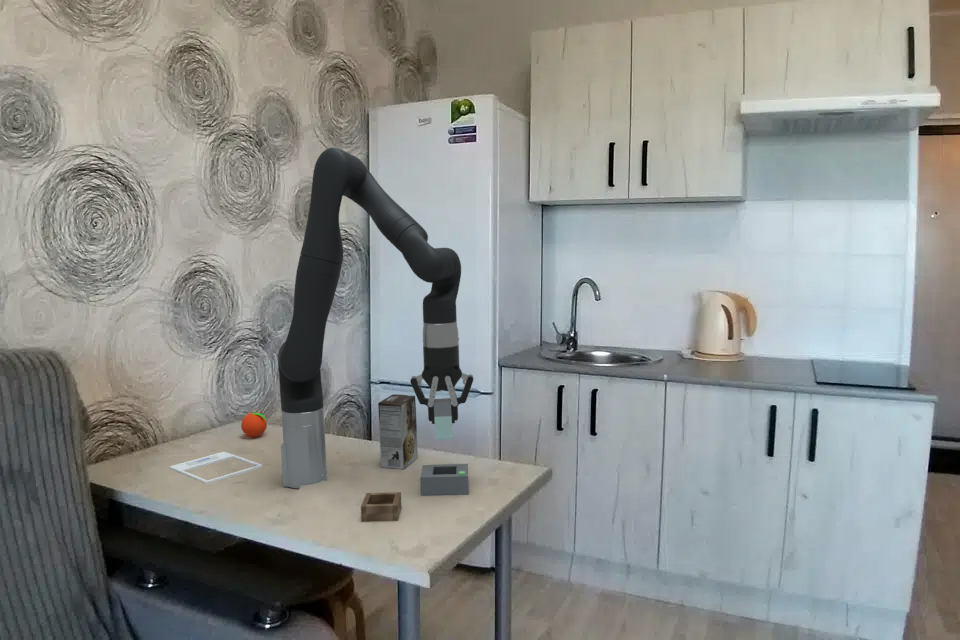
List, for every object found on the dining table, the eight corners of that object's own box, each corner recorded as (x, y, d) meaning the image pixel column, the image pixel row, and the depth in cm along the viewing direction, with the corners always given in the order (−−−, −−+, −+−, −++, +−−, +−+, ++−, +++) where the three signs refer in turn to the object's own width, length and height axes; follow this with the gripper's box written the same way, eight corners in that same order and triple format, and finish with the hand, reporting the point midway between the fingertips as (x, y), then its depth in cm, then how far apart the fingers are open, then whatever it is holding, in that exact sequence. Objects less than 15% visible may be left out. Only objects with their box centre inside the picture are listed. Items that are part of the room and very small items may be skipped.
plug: (435, 439, 147) (433, 402, 146) (436, 434, 150) (434, 398, 149) (452, 439, 147) (450, 402, 146) (452, 434, 150) (451, 398, 149)
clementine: (275, 434, 198) (274, 410, 197) (260, 441, 191) (258, 416, 190) (252, 432, 200) (251, 408, 200) (236, 439, 194) (234, 414, 193)
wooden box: (361, 526, 133) (360, 506, 133) (367, 512, 140) (366, 493, 140) (398, 525, 133) (397, 505, 133) (401, 511, 140) (400, 492, 140)
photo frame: (224, 450, 181) (262, 464, 170) (224, 454, 181) (262, 468, 170) (168, 465, 170) (206, 481, 159) (169, 470, 170) (206, 485, 159)
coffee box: (395, 456, 176) (392, 393, 174) (418, 457, 174) (416, 394, 172) (379, 467, 167) (377, 402, 165) (404, 469, 165) (401, 403, 163)
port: (420, 500, 146) (420, 475, 145) (423, 486, 154) (422, 463, 153) (468, 499, 146) (467, 474, 145) (468, 485, 154) (467, 461, 153)
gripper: (405, 347, 142) (409, 428, 144) (474, 345, 142) (477, 426, 145) (408, 341, 150) (411, 419, 152) (474, 339, 150) (476, 417, 152)
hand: (443, 422), depth 148 cm, fingers closed on plug, 3 cm apart
